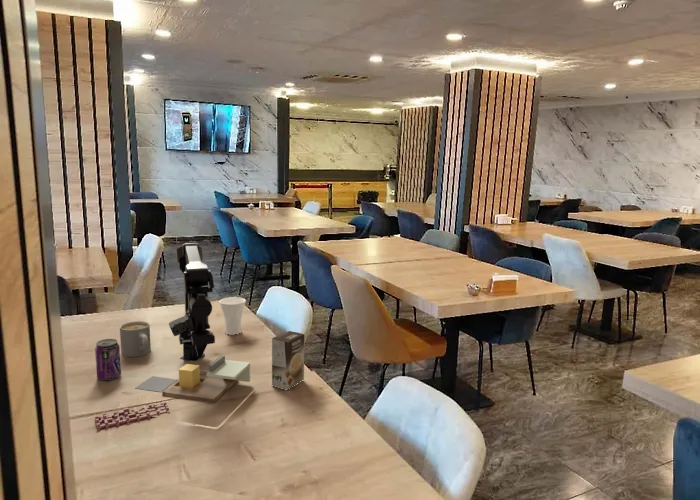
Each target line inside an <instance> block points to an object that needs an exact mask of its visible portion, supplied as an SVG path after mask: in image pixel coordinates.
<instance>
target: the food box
mask: <svg viewBox="0 0 700 500" xmlns="http://www.w3.org/2000/svg"><path fill="white" fill-rule="evenodd" d="M302 380H304V381H305V334H304V333H301V332H298V331H291V330H289V331H286V332H283V333H282V334H279V335H276V336H274V337H272V338H271V386H272V385H273V386H276V387H279V388H283V389H289V388H291V387H292V386H294V385H296V384H297V383H299V382H300V381H302ZM299 384H300V383H299ZM273 386H272V387H273ZM296 386H297V385H296ZM276 387H275V388H276ZM294 387H295V386H294ZM279 388H278V389H279ZM291 389H292V388H291ZM289 390H290V389H289Z"/></svg>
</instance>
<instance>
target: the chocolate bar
mask: <svg viewBox="0 0 700 500" xmlns="http://www.w3.org/2000/svg"><path fill="white" fill-rule="evenodd" d="M130 410H131V412H130ZM154 411H155V412H154ZM150 412H154V413H150ZM166 413H167V414H170V413H171V411H170V407H169V405H168V404H167V401H166V400H165V401H164V400H163V401H162V402H160V404H159V405H158V404H157V403H156V402H154V403H150V404H148V406H147V405H142V406H141V407H140V408H138V409H137V407H133V408H131V409H130V408H129V407H126V408H123V410H121V411H118V412H117V411H113V412H112V414H111V413H108V414H106V412H103V413H102V415H95V416H94V419H95V423H96V429H97V431H98V430H99V431H104V430H108V429H111V428H116V427H121V426H125V425H129V424H135V423H138V422H142V421H147V420H151V419H155V418H157V417H156V415H157V416H160V415H161V414H166ZM144 414H145V415H144Z"/></svg>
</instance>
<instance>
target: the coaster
mask: <svg viewBox="0 0 700 500" xmlns="http://www.w3.org/2000/svg"><path fill="white" fill-rule="evenodd" d="M177 380H178V378H177V379H176V378H169V377H162V376H161V377H160V376H156V375H151V377H149V378H148V379H146V380H145V381H143V382H141V383H140V384H139V385H137V386H136V387H134V389H137V390H144V391H150V392H157V393H162V392H163V391H164V390H165V389H167V388H168V387H169V386H171V385H172V384H173V383H175V382H176V381H177Z"/></svg>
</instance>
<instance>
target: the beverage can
mask: <svg viewBox="0 0 700 500" xmlns="http://www.w3.org/2000/svg"><path fill="white" fill-rule="evenodd" d="M95 344H96V345H95V348H94V352H95V353H94V355H95V367H96V378H97V379H98V380H102V381H111V380H115V379H117V378H119V377H120V376H121V375H122V367H121V364H122V363H121V347H120V344H119V343H118V340H117V339H116V338H103V339H101V340H98V341H96V342H95Z"/></svg>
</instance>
